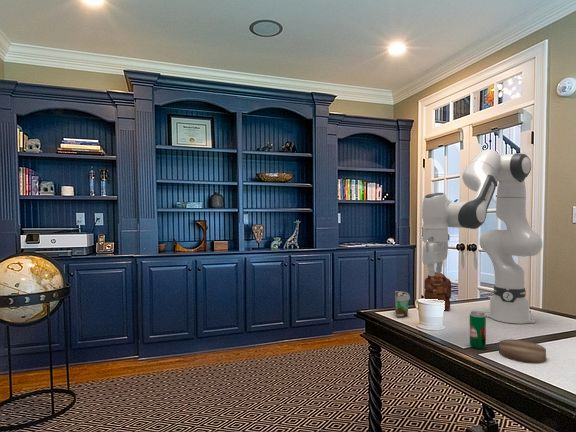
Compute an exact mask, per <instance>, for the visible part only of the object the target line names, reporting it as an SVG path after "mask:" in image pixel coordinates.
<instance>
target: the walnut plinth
mask: <svg viewBox="0 0 576 432" xmlns="http://www.w3.org/2000/svg"><path fill="white" fill-rule="evenodd" d="M498 353H499V355H500V356H502V357H504V358H506V359H509V360H510V361H511V360H512V361H515V362H521V363H527V364H542V363H544V362H546V361H547V349H546V348H545V347H544V346H543V345H540V344H538V343H536V342H531V341H527V340H522V339H514V338H512V339H509V338H508V339H501V340H499V342H498Z"/></svg>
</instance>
